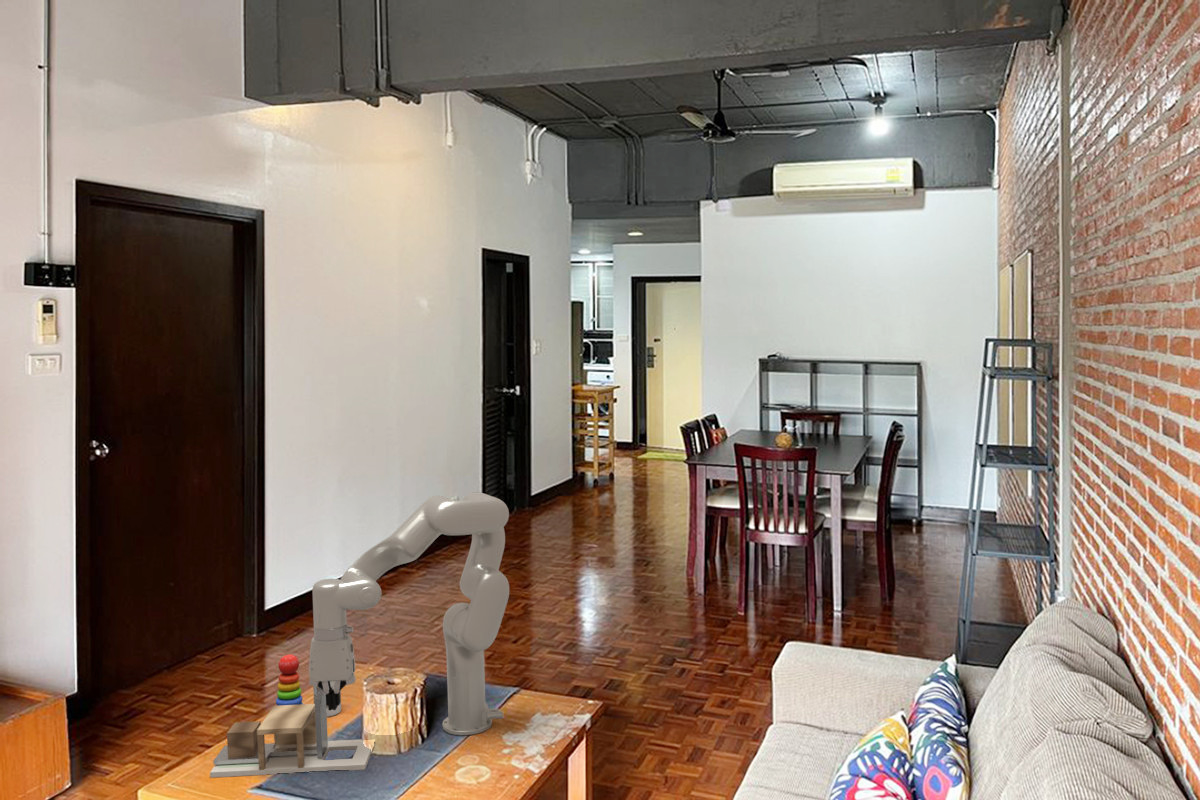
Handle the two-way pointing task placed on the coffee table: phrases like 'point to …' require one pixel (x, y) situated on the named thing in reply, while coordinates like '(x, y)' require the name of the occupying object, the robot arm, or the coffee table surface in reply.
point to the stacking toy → (289, 682)
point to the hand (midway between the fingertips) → (333, 707)
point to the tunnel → (288, 729)
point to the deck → (311, 761)
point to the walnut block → (243, 739)
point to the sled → (273, 751)
